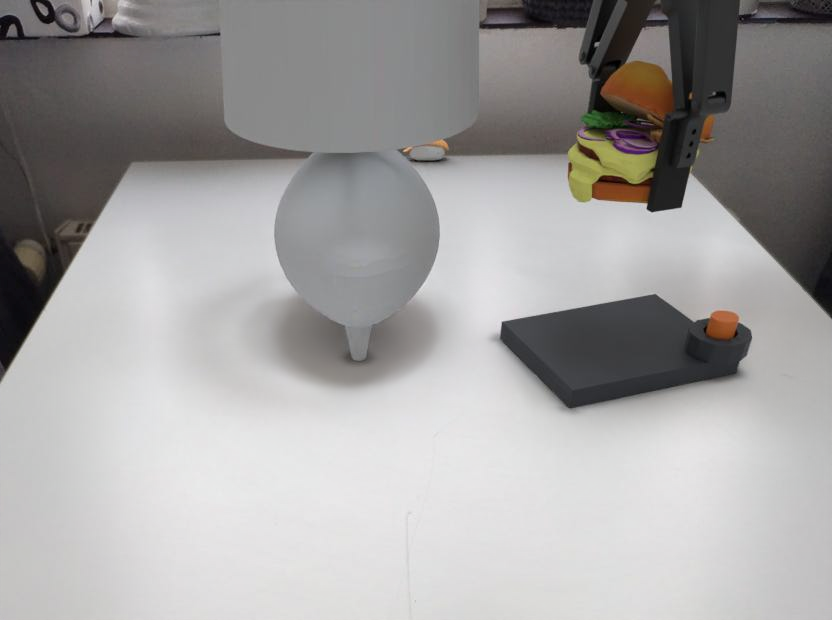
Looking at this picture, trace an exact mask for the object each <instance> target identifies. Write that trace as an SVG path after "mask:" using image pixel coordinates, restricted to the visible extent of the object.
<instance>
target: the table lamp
mask: <svg viewBox="0 0 832 620" xmlns="http://www.w3.org/2000/svg"><path fill="white" fill-rule="evenodd" d="M218 11H219V12H218V14H219V33H220V34H219V36H220V55H221V58H220V59H221V77H222V98H223V117H224V119H223V121H224V124H225V126H226V128H227V129H229V131H231V132H232V133H233V134H235V135H236V136H238V137H239V138H242V139H244V140H248V141H250V142H252V143H255V144H259V145H262V146H266V147H271V148H276V149H283V150H288V151H297V152H307V153H311V154H310V155H309V156H308V157H307V158H306V159H305V160H304V161H303V163H301V165H300V166H299V167H298V169H297V170H296V171H295V172H294V174H293V175H292V177H291V179H290V180H289V182H288V184H287V186H286V187H285V189H284V191H283V194H282V196H281V197H280V200H279V203H278V206H277V209H276V213H275V219H274V225H273V226H274V227H273V228H274V229H273V237H274V247H275V250H276V251H275V252H276V255H277V259H278V262H279V265H280V267H281V270H282V272H283V274H284V276H285V277H286V279H287V281H288V282H289V284H290V285H291V286H292V288H293V289H294V291H295V292H296V293H297V294H298V295H299V296H300V297H301V298H302V299H303V301H305V303H306V304H308V305H309V306H310V307H312V308H313V310H315V311H317V312H318V313H319V314H321V315H322V316H324V317H325V318H327V319H329V320H331V321H333V322H335V323H337V324H339V325H342V326H344V329H345V333H346V337H347V338H346V339H347V343H348V348H349V353H350V356H351V357H350V358H351V359H352V360H353V361H357V362H361V361H362V362H363V361H364V360H366V359H367V354H368V349H369V344H370V337H371V332H372V326H374V325H377V324H379V323H381V322H383V321H384V320H386V319H388V318H390V317H391V316H393V315H394V314H395V313H397V312H399V310H400V309H402V308H403V307H404V306H406V304H407V303H409V302H410V301H411V300H412V299H413V297H415V295H416V294H417V293H418V292H419V291H420V289H421V288H422V287H423V285H424V284H425V282H426V281H427V279H428V277H429V275H430V273H431V271H432V269H433V267H434V264H435V261H436V258H437V255H438V251H439V247H440V237H441V225H440V217H439V211H438V208H437V205H436V201H435V199H434V197H433V194H432V193H431V191H430V189H429V187H428V185H427V184H426V182H425V180H424V179H423V177H422V175H421V174H420V173H419V171H418V170H417V169H416V168H415V166H414V165H413V164H412V163H411V161H409V159H408V158H406V157H405V155H404V154H403V153H401V152H400V151H399V150H400V149H407V148H408V147H414V146H419V145H424V144H428V143H432V142H436V141H439V140H446V139H449V138H451V137H454V136H456V135H458V134H460V133H462V132H463V131H466V130H467V129H469V128H470V127H472V126H473V125H474V123H476V122H477V120H478V118H479V116H480V0H218Z"/></svg>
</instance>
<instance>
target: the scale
mask: <svg viewBox="0 0 832 620" xmlns="http://www.w3.org/2000/svg"><path fill="white" fill-rule="evenodd" d="M709 319H710V317H706V318H701V319H697V320H695V321H694V320H692V319H691V318H689V317H688V316H686V314H684V313H683V312H682V311H680V310H678V309H677V308H676V307H674V306H673V305H672V304H670V303H669V302H667V300H665V299H663V298H662V297H661V296H659V295H658V294H656V293H653V294H647V295H642V296H636V297H630V298H625V299H621V300H620V299H619V300H614V301H607V302H603V303H597V304H592V305H586V306H580V307H576V308H570V309H565V310H559V311H553V312H548V313H547V312H546V313H543V314H542V313H541V314H536V315H531V316H526V317H519V318H514V319H508V320H504V321H503V320H502V321H501V324H500V325H501V326H500V335H499V339H500V340H501V341H502V342H503V343H504V344H505V345H507V347H508V348H509V349H510V350H511V351H512V352H513V353H514V354H515V355H517V357H518V358H519V359H520V360H522V362H523V363H525V365H527V367H529V369H530V370H531V371H532V372H533V373H534V374H535V375H536V376H537V377H538V378H539V379H541V381H542V382H543V383H544V384H545V385H546V386H547V387H549V388H550V390H551V391H552V392H553V393H554V394H555V395H556V396H557V397H558V398H559V399H561V400H562V402H563V403H564V404H565V405H567V407H569V408H571V409H572V408H576V407H580V406H585V405H591V404H595V403H599V402H604V401H609V400H614V399H619V398H623V397H628V396H633V395H639V394H642V393H647V392H653V391H657V390H662V389H667V388H673V387H676V386H681V385H687V384H691V383H696V382H700V381H701V382H702V381H707V380H710V379H714V378H721V377H724V376H729V375H735V374H737V372H738V370H739V367H740V366H739V365H740V362H741V361H743V359H745V358H746V357H747V355H748V353H749V350H750V346H751V344H752V341H753V334H752V330H751V329H750V328H749V327H747V326H746V325H744V324H743V323H741V322H738V324H737V328H736V331H735V334H734V337H733V338H731V339H717V338H714V337H710V336H708V335H707V334H706V330H707V327H708V323H709Z"/></svg>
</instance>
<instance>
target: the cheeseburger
mask: <svg viewBox="0 0 832 620" xmlns="http://www.w3.org/2000/svg"><path fill="white" fill-rule="evenodd" d="M600 94H601V95H602V96H603V98H604V99H605V100H606V101H607V102H608V103H609V104H610V105H612V106H613V107H614V108H615V109H616V110H618V111H620V112H621V113H620V112H604V113H600V112H598V111H596V110H593V111H592V114H593V115H591V114H588V113H587V112H584V114H583V115H582V116H581V117H580V120H581V122H582V123H583V124H585V126H583V127H582V128H580V129H578V130H577V133H576V139H577V142H576V143H575V144H573V145H572V147H571V148H569V150H568V152H567V159H568V161H569V162H568V164H567V181H568V187H569V190H570V193H571V195H572V197H573V198H574V199H575V200H576V201H577V202H578V203H588V202H590V201H591V200H592V199H595V200H596V201H605V202H617V203H631V204H632V203H633V204H646V205H647V203H648V198H649V193H650V189H651V184H652V179H653V174H654V169H655V164H656V159H657V154H658V149H659V144H660V140H661V135H662V130H663V125H664V120H665V114H668V113H669V112H671V111H672V110H674V102H673V88H672V80H670V79H669V77H668V75H667V73H666V72H665V70H664V69H663V68H662V66H660V65H657V64H655V63H651V62H647V61H642V60H633V61H630V62H626V63H625V64H624V65H623V66H621V67H620V68H619V69H618V70H617V71H616V72H615V73H613V74H612V75H611V76H610V78H609V79H608V80H607V82H606V83H605V85H604V86H603V87H602V90H601V93H600ZM689 99H692V93H690V96H689ZM714 123H715V114H714V115H710V116H708V117H707V118H706V120H705V122H704V125H703V130H702V134H701V138H700V143H699V144H709V143H711V142H713V141H715V137H714V136H711V135H712V131H713V127H714ZM586 124H588V125H586ZM699 154H700V146H699V147H698V150H697V155H696V159H697V158H698V156H699ZM693 167H694V165H693V166H691V168H690V173H689V177H690V174H691V173H692V169H693ZM689 177H688V179H689Z"/></svg>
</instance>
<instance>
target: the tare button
mask: <svg viewBox="0 0 832 620" xmlns="http://www.w3.org/2000/svg"><path fill="white" fill-rule="evenodd" d="M709 318H710V319H709V323H708V327H707V330H706V334H707V335H708V336H710V337H714V338H717V339H731V338H733V337H734V334H735V331H736V328H737V324H738V323H739V321H740V316H739V315H738V314H737V313H735V312H734V311H730V310H721V309H720V310H714V311H712V312H711V314H710V316H709Z"/></svg>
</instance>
